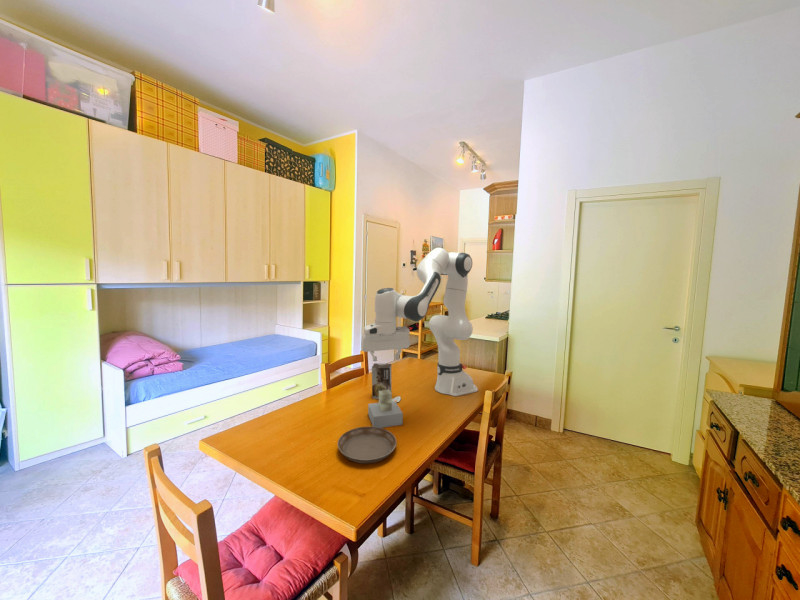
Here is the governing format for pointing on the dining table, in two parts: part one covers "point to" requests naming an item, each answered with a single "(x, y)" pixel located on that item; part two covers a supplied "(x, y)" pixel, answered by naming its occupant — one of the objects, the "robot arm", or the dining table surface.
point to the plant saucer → (367, 444)
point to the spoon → (397, 399)
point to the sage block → (385, 400)
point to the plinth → (385, 415)
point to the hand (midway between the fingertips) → (385, 359)
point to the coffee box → (380, 379)
